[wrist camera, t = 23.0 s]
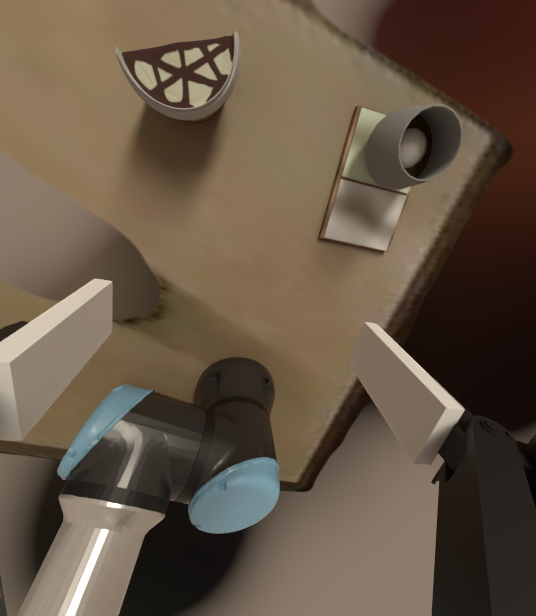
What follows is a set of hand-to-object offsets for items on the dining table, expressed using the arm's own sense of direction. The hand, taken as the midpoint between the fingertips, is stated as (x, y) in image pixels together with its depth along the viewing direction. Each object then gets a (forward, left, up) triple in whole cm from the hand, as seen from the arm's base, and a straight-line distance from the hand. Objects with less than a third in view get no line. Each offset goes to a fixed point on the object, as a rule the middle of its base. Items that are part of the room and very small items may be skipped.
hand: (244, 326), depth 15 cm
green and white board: (+11, -19, -32) cm, 39 cm away
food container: (+15, +8, -32) cm, 36 cm away
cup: (+15, -19, -31) cm, 39 cm away
